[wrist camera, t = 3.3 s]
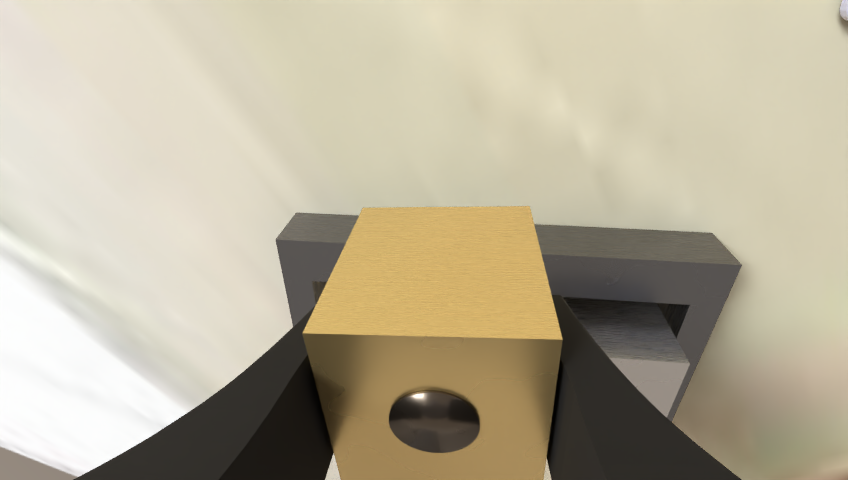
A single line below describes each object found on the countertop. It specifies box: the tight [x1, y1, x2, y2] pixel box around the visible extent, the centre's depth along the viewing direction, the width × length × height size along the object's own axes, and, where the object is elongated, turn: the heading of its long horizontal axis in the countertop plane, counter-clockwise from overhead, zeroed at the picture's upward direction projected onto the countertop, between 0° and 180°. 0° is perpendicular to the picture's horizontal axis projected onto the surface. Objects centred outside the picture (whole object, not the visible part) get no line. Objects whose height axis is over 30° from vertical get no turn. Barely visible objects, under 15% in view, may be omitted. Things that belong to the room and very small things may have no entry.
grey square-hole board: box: [276, 213, 742, 422], centre depth 21 cm, size 18×10×2 cm, turn 90°
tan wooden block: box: [302, 206, 563, 480], centre depth 11 cm, size 4×4×5 cm
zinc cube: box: [562, 297, 690, 417], centre depth 19 cm, size 4×4×5 cm
